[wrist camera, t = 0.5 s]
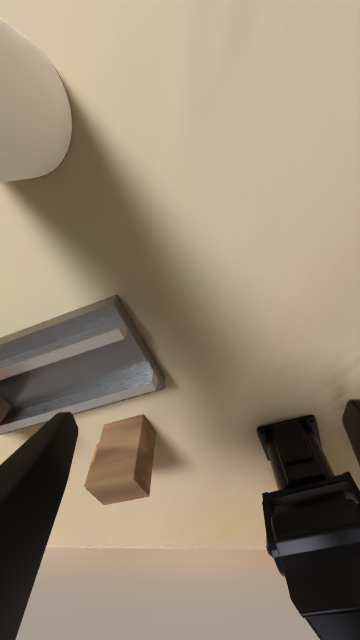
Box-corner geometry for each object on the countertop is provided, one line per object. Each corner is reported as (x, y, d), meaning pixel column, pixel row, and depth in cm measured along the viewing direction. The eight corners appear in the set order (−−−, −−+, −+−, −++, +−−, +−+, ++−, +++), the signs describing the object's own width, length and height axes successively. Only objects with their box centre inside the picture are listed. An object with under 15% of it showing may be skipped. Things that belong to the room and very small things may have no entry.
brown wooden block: (155, 432, 31) (149, 496, 26) (114, 442, 33) (98, 506, 27) (143, 414, 30) (133, 478, 24) (100, 425, 31) (80, 489, 25)
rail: (164, 377, 27) (162, 401, 24) (-7, 427, 31) (-24, 451, 29) (116, 294, 22) (108, 312, 19) (-78, 367, 26) (-106, 389, 24)
